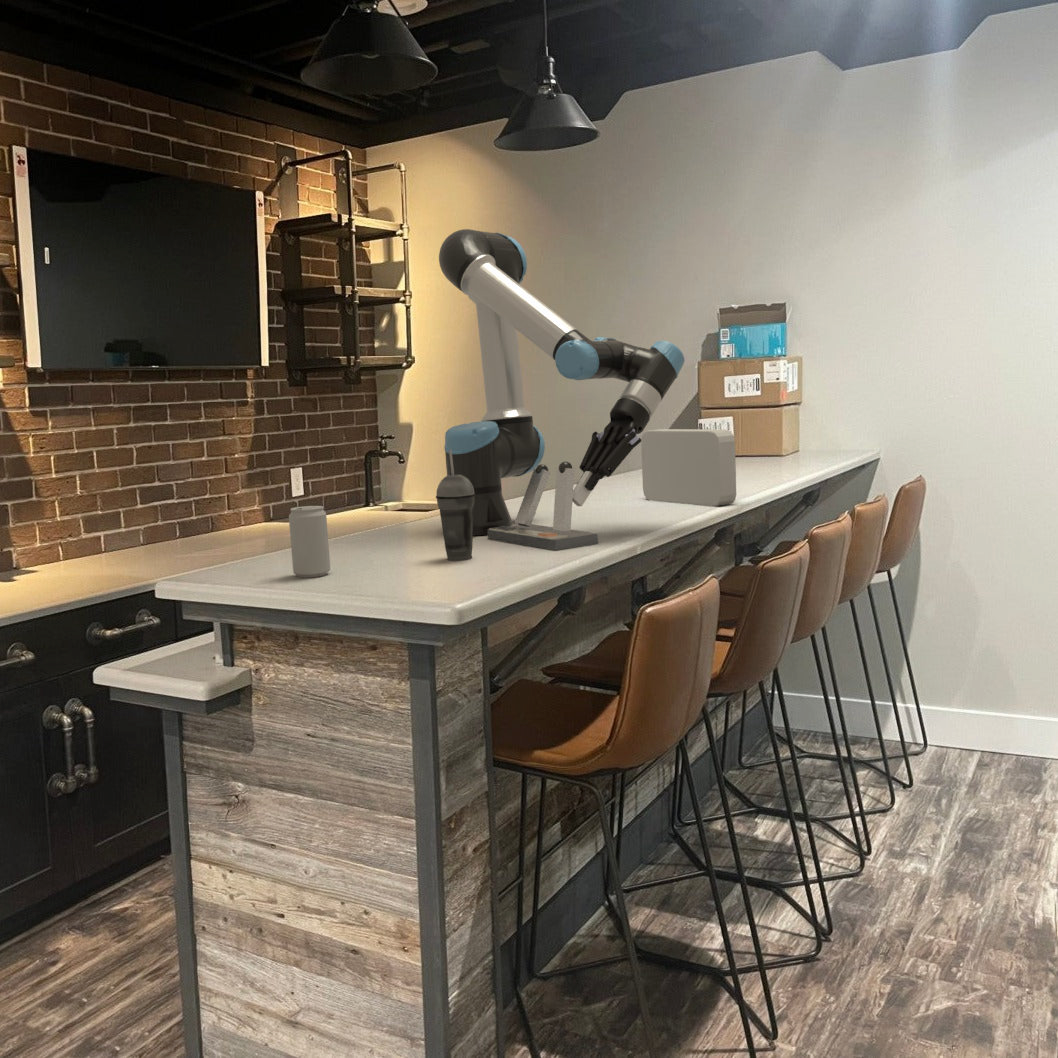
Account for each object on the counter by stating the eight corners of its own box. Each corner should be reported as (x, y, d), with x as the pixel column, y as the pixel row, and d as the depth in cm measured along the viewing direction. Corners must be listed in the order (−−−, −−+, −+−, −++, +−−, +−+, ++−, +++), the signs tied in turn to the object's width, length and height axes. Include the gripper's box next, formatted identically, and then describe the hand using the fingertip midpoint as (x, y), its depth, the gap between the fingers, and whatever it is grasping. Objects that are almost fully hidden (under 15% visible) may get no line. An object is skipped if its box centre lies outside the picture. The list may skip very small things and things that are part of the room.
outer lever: (561, 529, 202) (565, 461, 201) (572, 531, 199) (576, 462, 198) (550, 529, 200) (555, 460, 200) (561, 530, 197) (566, 461, 197)
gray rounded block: (744, 504, 248) (742, 428, 246) (720, 507, 244) (718, 431, 242) (665, 497, 272) (663, 428, 270) (643, 500, 268) (640, 430, 265)
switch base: (527, 532, 218) (527, 520, 218) (598, 543, 199) (597, 530, 198) (487, 538, 213) (486, 526, 212) (555, 550, 193) (554, 536, 193)
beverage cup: (449, 563, 185) (441, 452, 182) (433, 558, 192) (426, 450, 189) (485, 558, 188) (479, 448, 186) (469, 553, 195) (462, 447, 192)
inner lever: (522, 526, 214) (543, 467, 215) (532, 527, 211) (554, 467, 212) (512, 521, 212) (534, 462, 214) (522, 523, 209) (544, 462, 211)
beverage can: (296, 573, 184) (290, 506, 182) (332, 570, 184) (327, 503, 183) (291, 579, 177) (285, 510, 176) (329, 577, 178) (323, 508, 176)
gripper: (667, 420, 203) (608, 515, 196) (624, 421, 214) (566, 511, 207) (645, 394, 200) (584, 491, 193) (602, 397, 210) (543, 488, 203)
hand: (575, 501), depth 200 cm, fingers closed
